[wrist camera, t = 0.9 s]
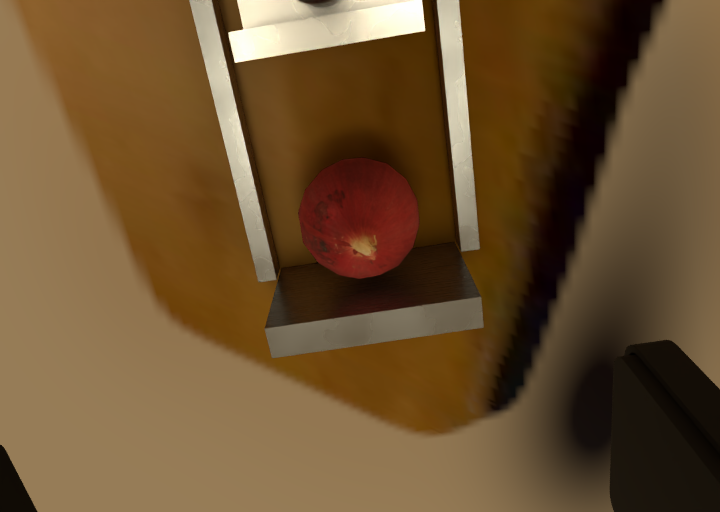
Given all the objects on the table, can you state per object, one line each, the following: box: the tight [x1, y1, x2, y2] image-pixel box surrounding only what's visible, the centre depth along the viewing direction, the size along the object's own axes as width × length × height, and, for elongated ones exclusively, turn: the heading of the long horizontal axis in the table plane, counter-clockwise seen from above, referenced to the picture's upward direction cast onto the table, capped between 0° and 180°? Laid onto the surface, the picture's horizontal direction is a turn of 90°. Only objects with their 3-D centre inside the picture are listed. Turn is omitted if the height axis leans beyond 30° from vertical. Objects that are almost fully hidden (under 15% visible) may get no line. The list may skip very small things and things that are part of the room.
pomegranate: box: [298, 157, 420, 279], centre depth 28 cm, size 6×6×8 cm
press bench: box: [189, 0, 484, 358], centre depth 26 cm, size 20×12×7 cm, turn 9°
